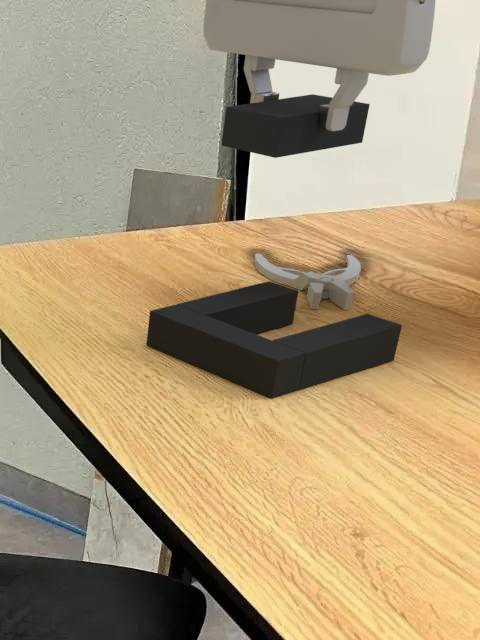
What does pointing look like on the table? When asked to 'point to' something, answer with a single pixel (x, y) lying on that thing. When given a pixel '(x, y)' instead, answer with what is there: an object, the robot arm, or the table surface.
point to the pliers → (316, 281)
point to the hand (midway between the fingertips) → (294, 122)
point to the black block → (289, 126)
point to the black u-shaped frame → (261, 353)
